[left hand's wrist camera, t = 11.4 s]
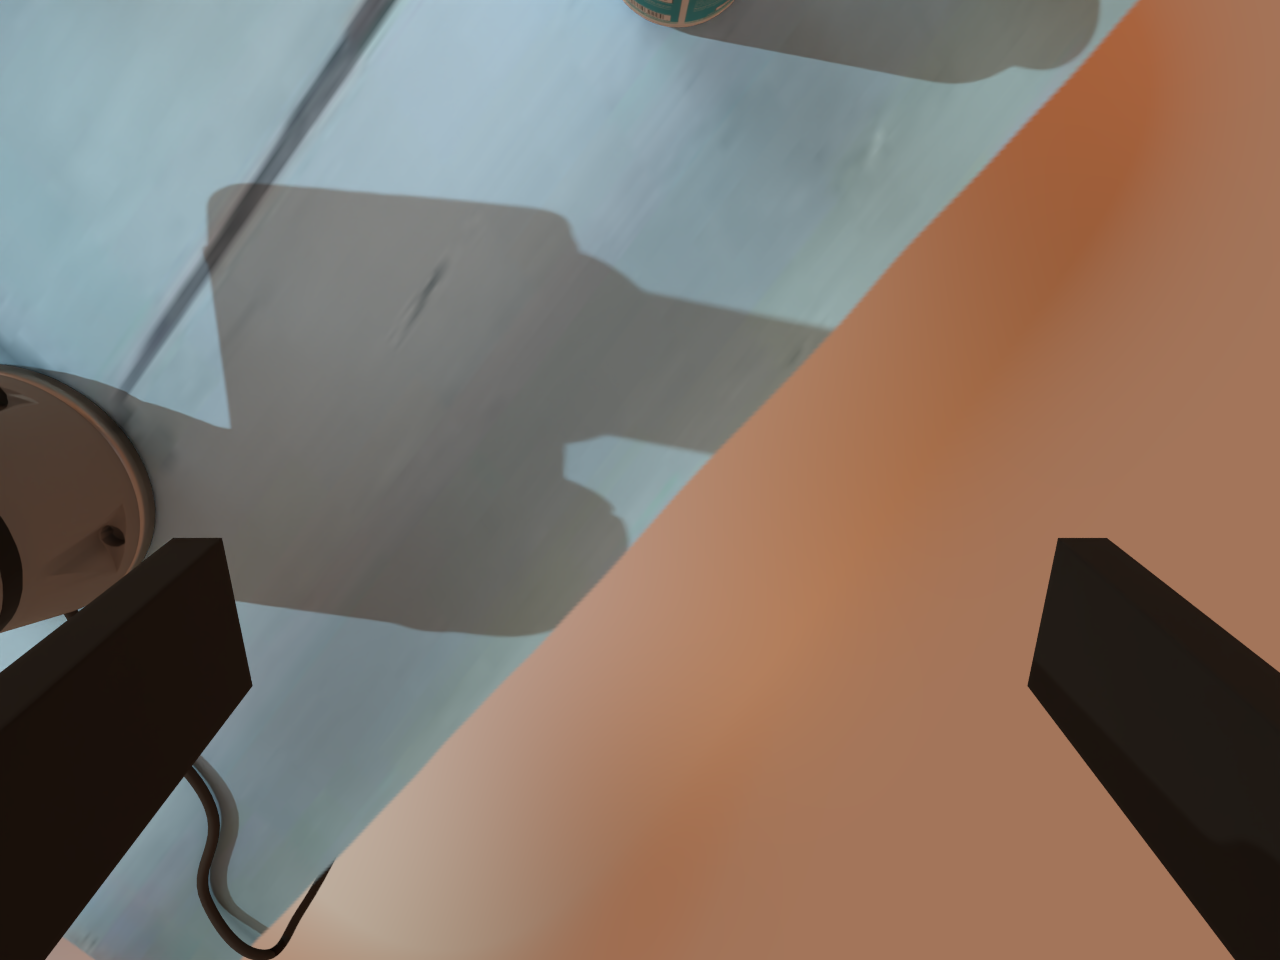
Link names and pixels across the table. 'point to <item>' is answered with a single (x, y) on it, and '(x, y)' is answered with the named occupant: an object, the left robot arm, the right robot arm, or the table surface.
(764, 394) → the table surface
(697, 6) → the pill bottle
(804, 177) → the table surface
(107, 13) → the table surface
